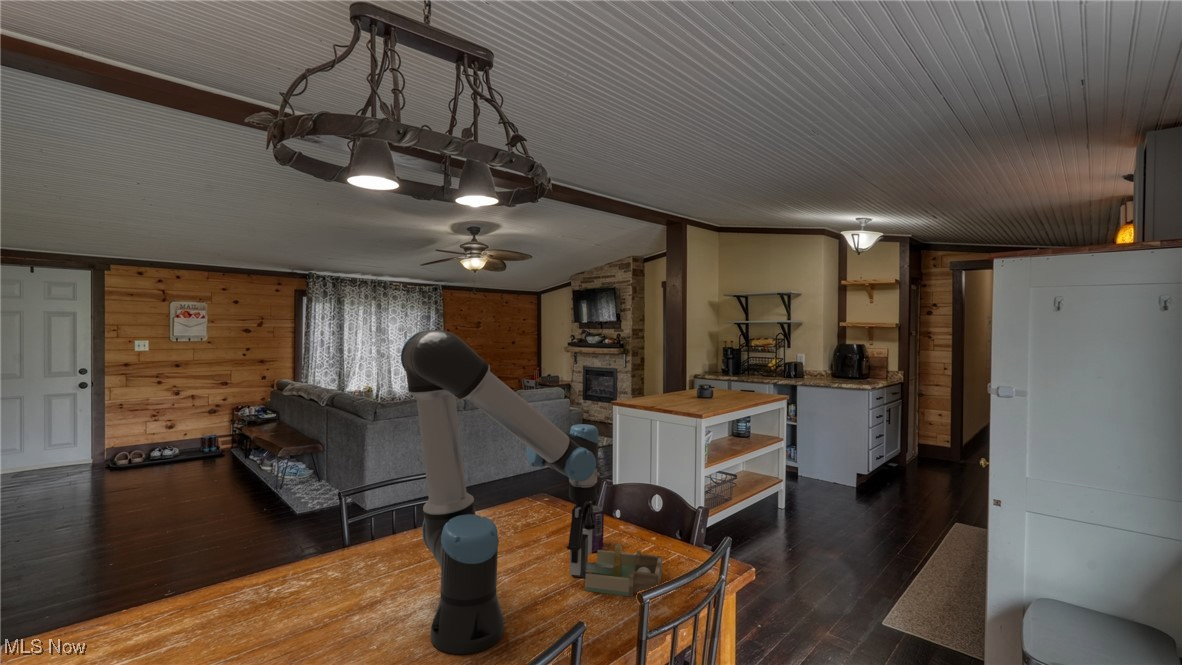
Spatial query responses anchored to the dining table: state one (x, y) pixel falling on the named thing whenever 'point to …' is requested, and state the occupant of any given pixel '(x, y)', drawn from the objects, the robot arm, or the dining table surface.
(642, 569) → the ball
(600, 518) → the beverage can
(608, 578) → the pitch
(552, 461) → the robot arm
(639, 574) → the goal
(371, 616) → the dining table surface
